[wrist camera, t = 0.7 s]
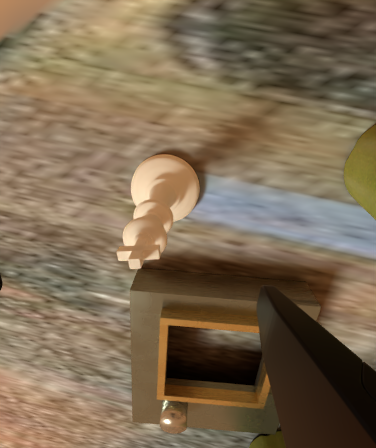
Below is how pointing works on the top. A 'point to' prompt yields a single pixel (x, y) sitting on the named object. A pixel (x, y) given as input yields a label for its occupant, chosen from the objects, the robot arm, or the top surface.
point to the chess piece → (157, 206)
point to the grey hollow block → (200, 318)
